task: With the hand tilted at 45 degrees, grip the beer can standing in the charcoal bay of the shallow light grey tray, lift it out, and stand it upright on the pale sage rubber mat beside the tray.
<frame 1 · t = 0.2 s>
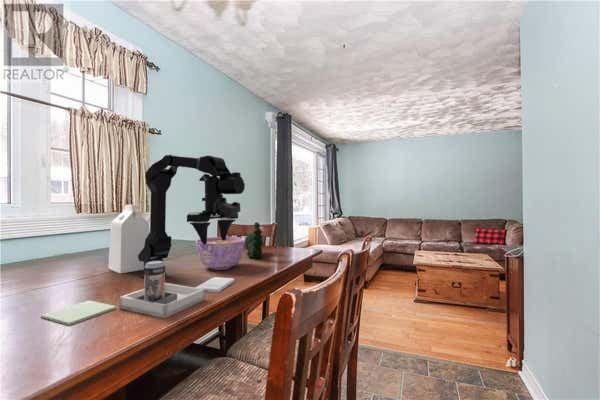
hand: (214, 242, 96), 14 cm above the table, tool pointing down, fingers open, 9 cm apart
toy figurine: (254, 257, 144), on the table
milk: (129, 268, 119), on the table
beer can: (154, 308, 77), resting in shallow light grey tray
bowl of food: (220, 268, 121), on the table
external hard drive: (215, 288, 96), on the table
sage mat: (80, 312, 73), on the table
shallow light grey tray: (163, 303, 80), on the table
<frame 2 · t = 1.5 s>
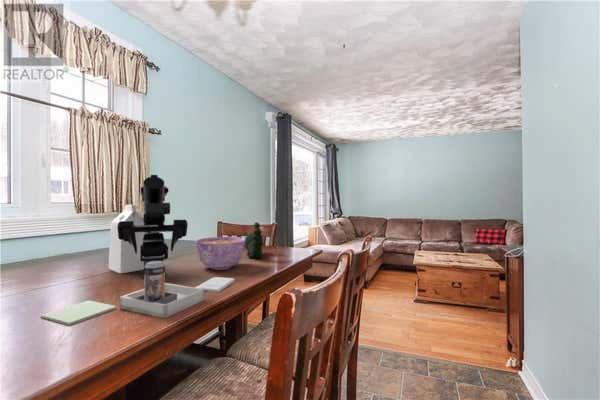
hand: (154, 251, 84), 13 cm above the table, tool tilted 45°, fingers open, 9 cm apart
nothing on the table moved.
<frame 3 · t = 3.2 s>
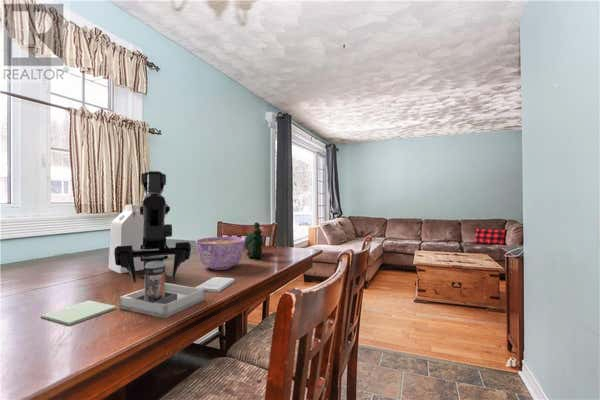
hand: (154, 279, 76), 8 cm above the table, tool tilted 45°, fingers open, 9 cm apart
nothing on the table moved.
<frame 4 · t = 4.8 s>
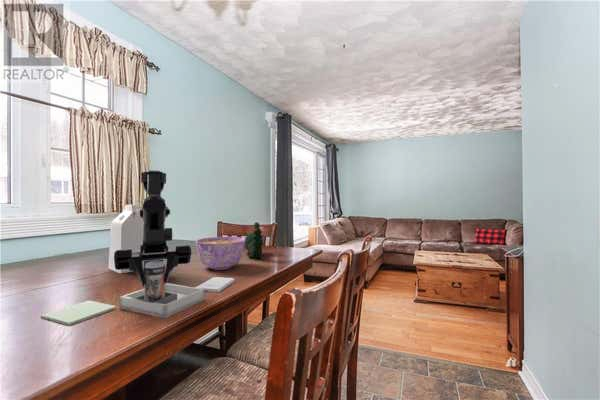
hand: (154, 284, 76), 7 cm above the table, tool tilted 45°, fingers closed on beer can, 5 cm apart
beer can: (154, 308, 77), resting in shallow light grey tray, touching gripper
everything else where it was.
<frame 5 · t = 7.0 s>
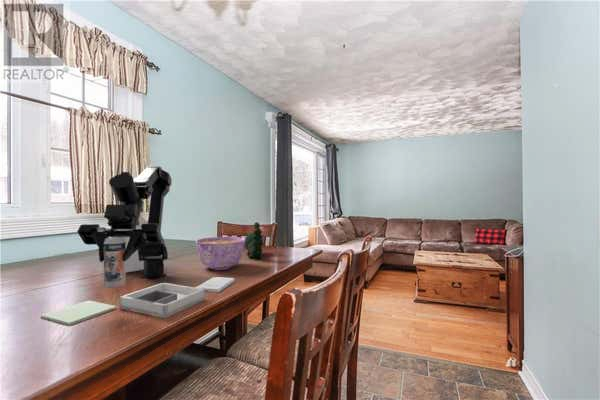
hand: (112, 260, 72), 13 cm above the table, tool tilted 45°, fingers closed on beer can, 5 cm apart
beer can: (114, 286, 74), point 6 cm above the table, touching gripper
everything else where it was.
when the fingers open (8 cm above the table, at t = 9.6 s): beer can stays where it is, resting on sage mat.
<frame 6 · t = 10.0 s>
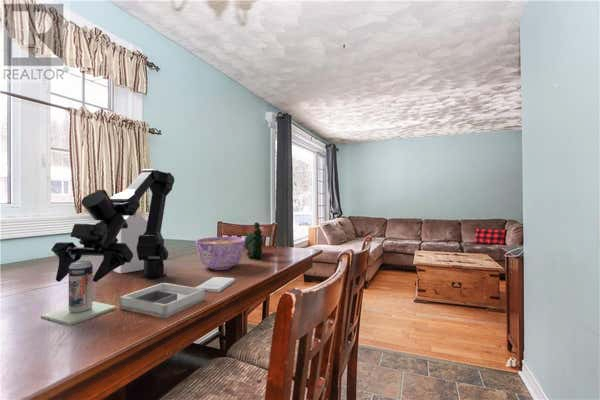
hand: (75, 281, 72), 8 cm above the table, tool tilted 45°, fingers open, 9 cm apart
beer can: (80, 310, 73), resting on sage mat
everything else where it was.
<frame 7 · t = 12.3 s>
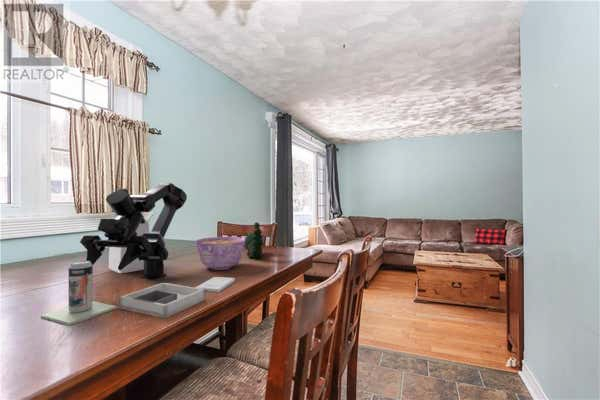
hand: (102, 269, 81), 9 cm above the table, tool tilted 45°, fingers open, 9 cm apart
nothing on the table moved.
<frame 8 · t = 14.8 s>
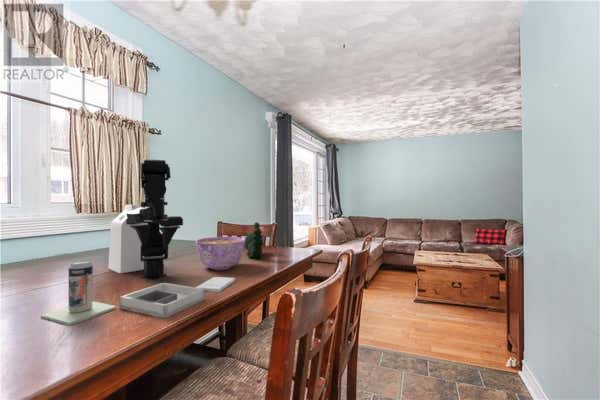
hand: (154, 247, 93), 13 cm above the table, tool pointing down, fingers open, 9 cm apart
nothing on the table moved.
at the end: beer can inside the target area on the sage mat (0.2 cm from its centre), point 0.4 cm above the sage mat's base; beer can tilted 0°; the gripper is holding nothing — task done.
